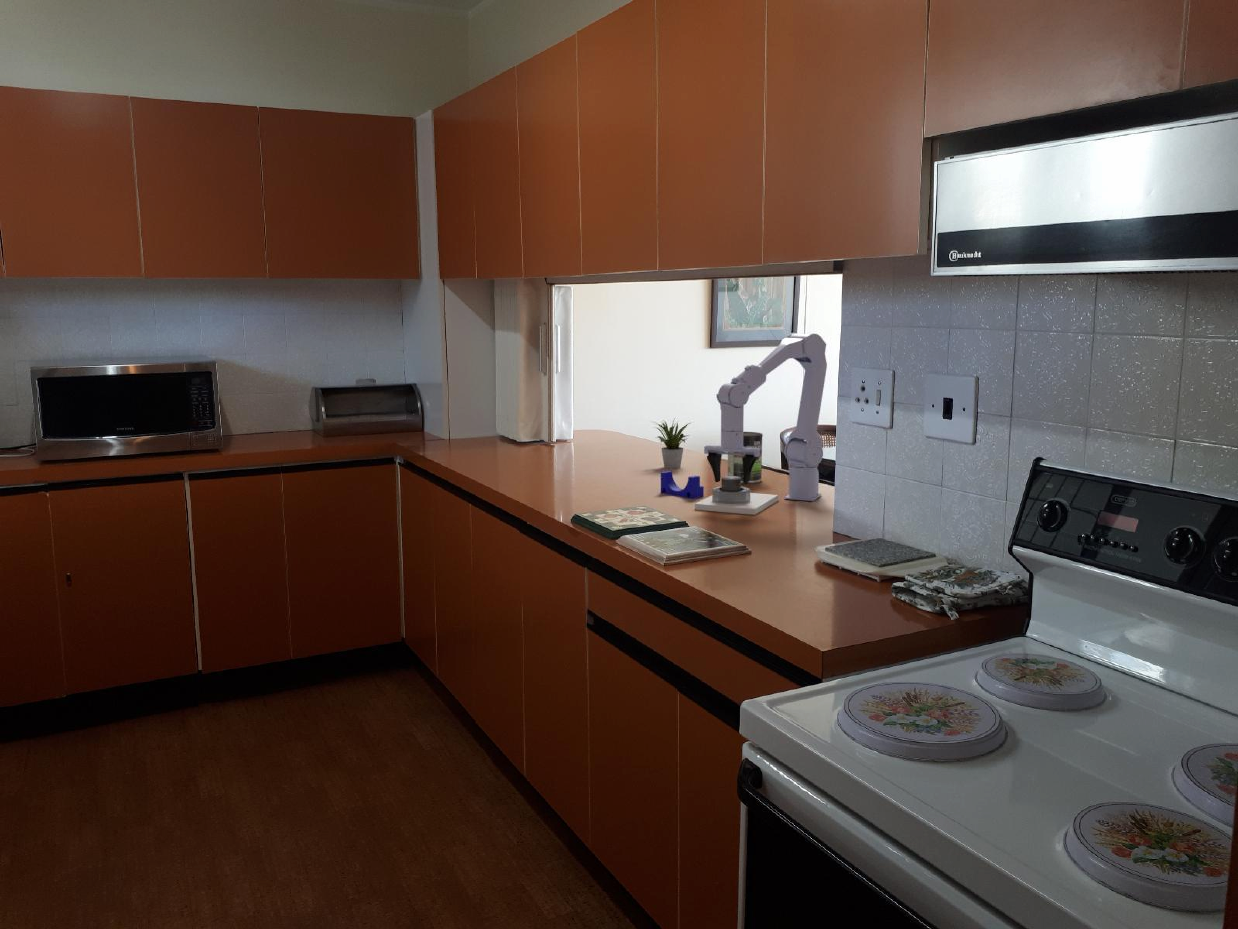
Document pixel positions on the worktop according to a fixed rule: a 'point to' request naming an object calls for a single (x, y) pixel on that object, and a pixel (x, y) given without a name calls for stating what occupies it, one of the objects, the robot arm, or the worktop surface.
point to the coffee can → (736, 460)
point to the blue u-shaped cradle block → (671, 488)
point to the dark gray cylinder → (731, 483)
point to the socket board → (739, 508)
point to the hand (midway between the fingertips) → (731, 482)
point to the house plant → (672, 445)
